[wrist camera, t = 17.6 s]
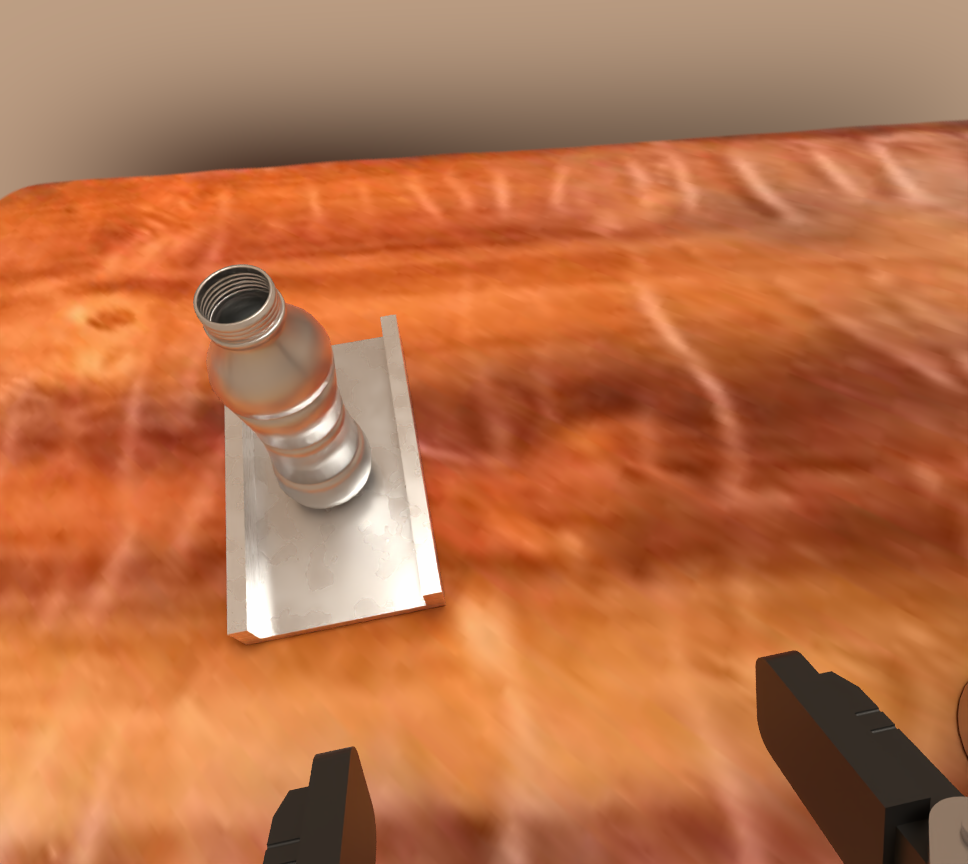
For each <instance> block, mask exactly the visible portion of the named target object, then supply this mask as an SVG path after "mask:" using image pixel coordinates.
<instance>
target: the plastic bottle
mask: <svg viewBox="0 0 968 864" xmlns="http://www.w3.org/2000/svg"><path fill="white" fill-rule="evenodd" d="M193 304H194V309H195V312H196V314H197V317H198V318H199V320H200V321H201V322H202V324H203V327H204V330H205V332H206V334H207V335H208V337H209V338H210V339H211V342H210V345H209V349H208V352H207V360H206V363H207V370H208V376H209V382H210V385H211V387H212V389H213V391H214V393H215V394H216V395H217V396H218V398H219V399H220V400H221V401H222V402H223V403H224V404H225V406H226V407H228V408H229V409H230V410H231V411H232V412H233V413H234V414H236V415H237V416H238V417H239V418H240V419H241V420H242V421H243V422H245V423H246V424H247V425H248V426H249V427H250V428H251V429H252V430H253V432H254V433H255V434H256V435H257V436H258V438H259V439H260V440H261V441H262V443H263V444H264V446H265V448H266V450H267V452H268V454H269V456H270V458H271V461H272V467H273V471H274V474H275V476H276V479H277V481H278V483H279V486H280V487H281V489H282V490H283V491H284V492H285V493H286V494H287V495H288V496H289V497H291V498H292V499H294V500H295V501H296V502H298V503H300V504H302V505H304V506H306V507H310V508H314V509H325V508H332V507H335V506H338V505H341V504H343V503H345V502H347V501H348V500H350V499H351V498H352V497H354V496H355V495H356V494H357V493H358V492H359V491H360V490H361V489H362V487H363V486H364V484H365V483H366V481H367V479H368V476H369V474H370V469H371V447H370V443H369V440H368V438H367V437H366V435H365V433H364V432H363V430H362V429H361V427H360V426H359V425H358V424H357V423H356V421H355V420H354V419H353V418H352V417H351V415H350V414H349V412H348V410H347V409H346V407H345V405H344V404H343V401H342V397H341V394H340V390H339V387H338V384H337V377H336V370H335V362H334V354H333V351H332V347H331V343H330V339H329V336H328V334H327V332H326V330H325V329H324V328H323V327H322V325H321V324H320V323H319V322H318V321H317V320H316V319H315V318H314V317H313V316H312V315H311V314H309V313H308V312H306V311H305V310H303V309H301V308H299V307H296V306H293V305H290V304H287V303H285V301H284V299H283V297H282V295H281V293H280V292H279V291H278V290H277V289H276V287H275V285H274V283H273V281H272V279H271V278H270V277H269V275H268V274H267V273H266V272H265V271H263V270H262V269H260V268H258V267H255V266H252V265H241V264H239V265H232V266H228V267H225V268H222V269H220V270H218V271H216V272H214V273H212V274H211V275H210V276H208V277H207V278H206V279H205V280H204V281H203V282H202V283H201V284H200V285H199V287H198V289H197V290H196V293H195V296H194V301H193Z"/></svg>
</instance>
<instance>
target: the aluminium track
mask: <svg viewBox="0 0 968 864" xmlns="http://www.w3.org/2000/svg"><path fill="white" fill-rule="evenodd" d="M380 319H381V325H382V332H383V337H379V338H373V339H367V340H361V341H355V342H350V343H344V344H338V345H332V346H331V347H332V351H333V354H334V362H335V370H336V377H337V384H338V387H339V390H340V394H341V397H342V401H343V404H344V405H345V407H346V409H347V410H348V412H349V414H350V415H351V417H352V418H353V419H354V420H355V421H356V423H357V424H358V425H359V426H360V427H361V429H362V430H363V432H364V433H365V435H366V437H367V438H368V440H369V443H370V447H371V469H370V474H369V476H368V479H367V481H366V483H365V484H364V486H363V487H362V489H361V490H360V491H359V492H358V493H357V494H356V495H355V496H354V497H352V498H351V499H350V500H348V501H347V502H345V503H343V504H341V505H338V506H335V507H332V508H325V509H314V508H310V507H306V506H304V505H302V504H300V503H298V502H296V501H295V500H294V499H292V498H291V497H289V496H288V495H287V494H286V493H285V492H284V491H283V490H282V489H281V487H280V486H279V483H278V481H277V479H276V476H275V474H274V471H273V467H272V461H271V458H270V456H269V454H268V452H267V450H266V448H265V446H264V444H263V443H262V441H261V440H260V439H259V438H258V436H257V435H256V434H255V433H254V432H253V430H252V429H251V428H250V427H249V426H248V425H247V424H246V423H245V422H243V421H242V420H241V419H240V418H239V417H238V416H237V415H236V414H234V413H233V412H232V411H231V410H230V409H229V408H228V407H226V406H225V476H226V559H227V635H229V636H231V637H233V638H235V639H237V640H238V641H240V642H242V643H244V644H246V645H250V644H255V643H260V642H265V641H270V640H275V639H280V638H285V637H290V636H295V635H300V634H305V633H310V632H315V631H320V630H325V629H330V628H335V627H340V626H345V625H350V624H355V623H360V622H365V621H370V620H375V619H380V618H385V617H390V616H395V615H400V614H405V613H410V612H415V611H420V610H424V609H429V608H434V607H439V606H444V605H446V604H445V598H444V592H443V586H442V580H441V574H440V568H439V562H438V556H437V550H436V544H435V538H434V532H433V526H432V520H431V514H430V508H429V502H428V496H427V490H426V484H425V478H424V472H423V466H422V460H421V454H420V448H419V442H418V436H417V430H416V424H415V418H414V412H413V406H412V400H411V394H410V388H409V382H408V376H407V370H406V364H405V358H404V352H403V346H402V340H401V336H400V331H399V327H398V323H397V318H396V315H390V316H384V317H380Z"/></svg>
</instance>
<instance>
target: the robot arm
mask: <svg viewBox="0 0 968 864" xmlns="http://www.w3.org/2000/svg"><path fill="white" fill-rule="evenodd" d="M756 696H757V721H758V726H759V730H760V734H761V737H762V739H763V742H764V744H765V746H766V748H767V750H768V752H769V753H770V755H771V756H772V758H773V759H774V761H775V762H776V764H777V765H778V767H779V768H780V770H781V771H782V773H783V774H784V776H785V777H786V779H787V780H788V782H789V783H790V784H791V786H792V787H793V789H794V790H795V792H796V793H797V795H798V796H799V798H800V799H801V801H802V802H803V804H804V805H805V807H806V808H807V810H808V811H809V813H810V814H811V815H812V817H813V818H814V820H815V821H816V823H817V824H818V826H819V827H820V829H821V830H822V832H823V833H824V835H825V836H826V838H827V839H828V841H829V842H830V844H831V845H832V846H833V848H834V849H835V851H836V852H837V854H838V855H839V857H840V858H841V860H842V861H843V863H844V864H968V797H965V796H963V795H962V794H961V793H960V792H959V791H958V790H957V789H956V788H955V787H954V786H953V785H952V783H951V782H950V781H949V780H948V779H947V778H946V777H945V776H944V775H943V774H942V773H941V772H940V771H939V770H938V769H937V768H936V767H935V766H934V765H933V764H932V763H931V762H930V761H929V760H928V759H927V757H926V756H925V755H924V754H923V753H922V752H921V751H920V750H919V749H918V748H917V747H916V746H915V745H914V744H913V743H912V742H911V741H910V740H909V739H908V738H907V737H906V736H905V735H904V734H903V733H902V731H901V730H900V729H896V727H895V724H894V723H893V722H892V721H891V720H890V719H889V718H888V717H887V716H886V715H885V714H884V713H883V712H880V711H879V708H878V707H877V705H876V704H875V703H874V702H873V701H872V700H871V699H870V698H869V697H868V696H867V695H866V694H865V693H864V692H863V691H862V690H861V689H860V688H859V687H858V686H856V685H854V684H853V683H851V682H849V681H847V680H846V679H844V678H842V677H840V676H839V675H837V674H835V673H833V672H832V671H831V672H826V673H822V674H819V673H818V672H817V671H816V670H815V669H814V668H813V666H812V665H811V664H810V663H809V662H808V661H807V660H806V659H805V658H804V656H803V655H802V654H801V653H799V652H798V651H789V652H784V653H780V654H775V655H770V656H766V657H761V658H758V659H757V661H756ZM958 722H959V732H960V736H961V739H962V742H963V746H964V749H965V752H966V754H967V756H968V683H967V684H966V686H965V688H964V690H963V693H962V695H961V698H960V702H959V710H958ZM375 861H376V824H375V816H374V810H373V806H372V802H371V798H370V795H369V791H368V788H367V784H366V781H365V777H364V773H363V770H362V766H361V763H360V759H359V756H358V753H357V750H356V748H355V747H354V746H353V747H348V748H344V749H339V750H334V751H330V752H325V753H320V754H316V755H315V757H314V759H313V764H312V770H311V776H310V782H309V786H308V787H304V788H299V789H295V790H290V791H289V792H288V794H287V795H286V797H285V799H284V800H283V802H282V803H281V805H280V807H279V808H278V810H277V811H276V813H275V815H274V816H273V820H272V824H271V829H270V833H269V838H268V843H267V850H266V852H265V856H264V861H263V864H375Z"/></svg>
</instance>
